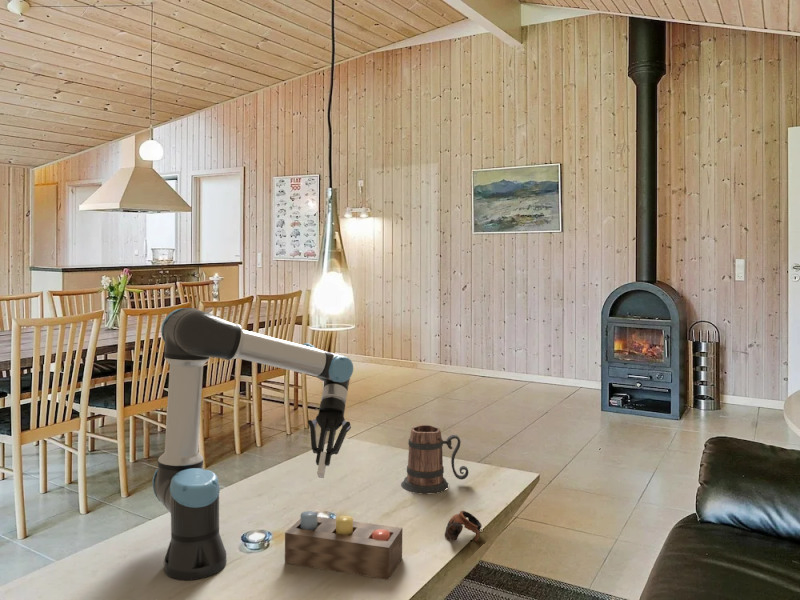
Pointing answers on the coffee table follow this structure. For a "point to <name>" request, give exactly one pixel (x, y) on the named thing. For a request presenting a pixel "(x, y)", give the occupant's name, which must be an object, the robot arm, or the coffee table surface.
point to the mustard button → (344, 525)
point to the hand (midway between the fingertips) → (320, 475)
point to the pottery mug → (457, 525)
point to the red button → (381, 535)
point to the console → (344, 548)
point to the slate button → (309, 520)
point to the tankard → (428, 461)
